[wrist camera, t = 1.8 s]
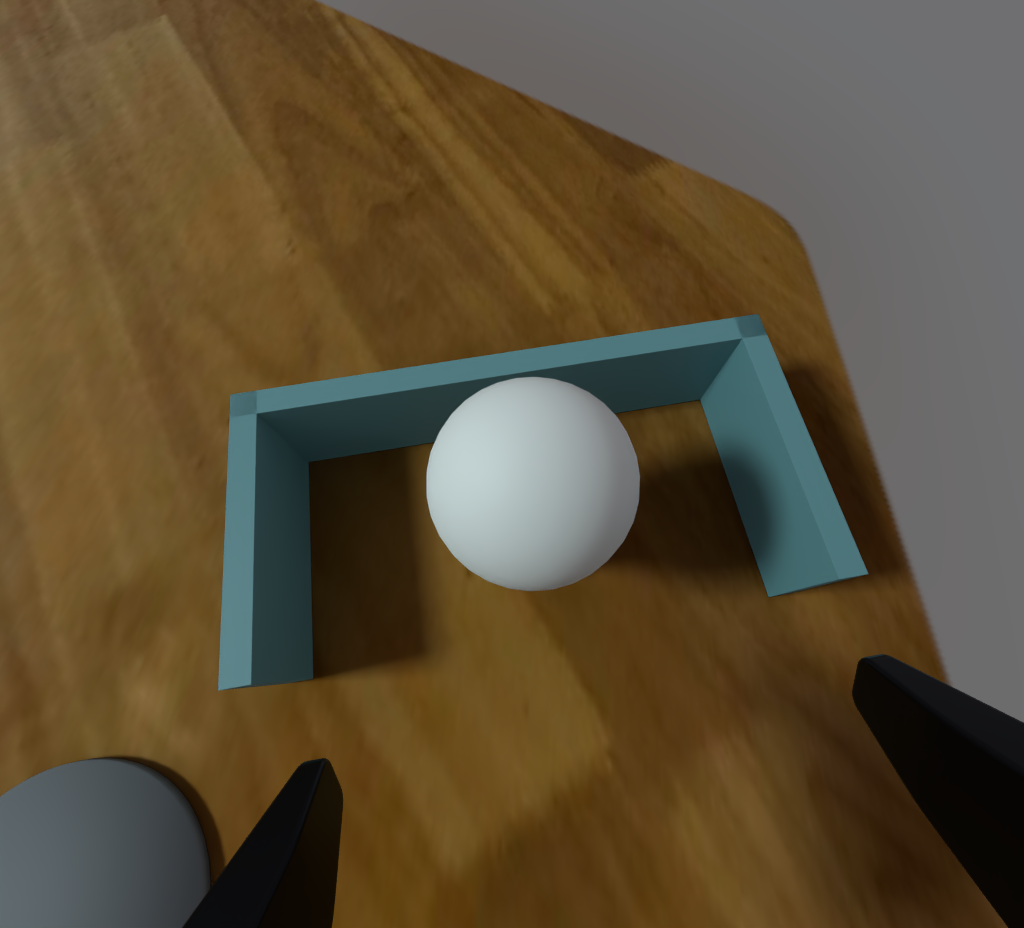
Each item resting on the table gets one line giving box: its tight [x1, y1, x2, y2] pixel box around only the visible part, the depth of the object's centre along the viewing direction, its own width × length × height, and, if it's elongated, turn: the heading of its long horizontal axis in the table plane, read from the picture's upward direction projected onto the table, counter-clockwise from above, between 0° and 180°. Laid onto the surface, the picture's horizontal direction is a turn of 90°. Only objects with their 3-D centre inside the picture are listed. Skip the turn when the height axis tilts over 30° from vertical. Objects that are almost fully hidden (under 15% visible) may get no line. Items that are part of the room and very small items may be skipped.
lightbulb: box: [427, 377, 640, 591], centre depth 17 cm, size 6×6×11 cm
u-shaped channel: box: [218, 314, 868, 690], centre depth 20 cm, size 10×21×5 cm, turn 100°
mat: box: [0, 758, 211, 928], centre depth 17 cm, size 10×10×1 cm
